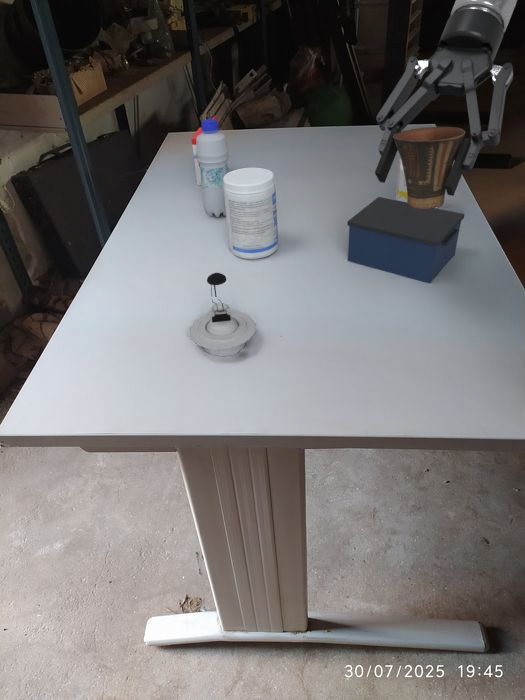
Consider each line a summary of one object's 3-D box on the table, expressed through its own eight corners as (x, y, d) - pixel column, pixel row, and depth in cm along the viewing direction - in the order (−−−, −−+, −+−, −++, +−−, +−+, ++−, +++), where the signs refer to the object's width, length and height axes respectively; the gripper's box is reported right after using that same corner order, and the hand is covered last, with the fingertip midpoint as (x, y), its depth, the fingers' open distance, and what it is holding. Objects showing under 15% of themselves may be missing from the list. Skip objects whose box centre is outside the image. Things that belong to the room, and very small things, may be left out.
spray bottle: (204, 173, 141) (197, 114, 132) (222, 173, 140) (217, 114, 131) (196, 186, 134) (188, 124, 125) (216, 186, 133) (209, 124, 124)
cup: (408, 185, 80) (417, 115, 74) (464, 200, 75) (478, 125, 69) (374, 205, 76) (380, 131, 69) (431, 222, 71) (443, 144, 64)
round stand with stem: (248, 252, 79) (179, 259, 78) (255, 287, 71) (179, 295, 71) (253, 320, 87) (191, 327, 86) (260, 359, 79) (192, 367, 78)
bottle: (220, 204, 124) (210, 113, 112) (239, 212, 120) (232, 118, 108) (197, 214, 121) (185, 120, 108) (217, 222, 117) (206, 126, 104)
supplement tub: (287, 252, 104) (285, 178, 95) (243, 266, 101) (236, 190, 92) (263, 234, 111) (259, 162, 102) (221, 246, 108) (213, 173, 99)
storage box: (459, 254, 100) (466, 214, 95) (433, 285, 92) (440, 243, 87) (373, 234, 109) (376, 196, 104) (343, 260, 101) (345, 220, 96)
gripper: (393, 3, 73) (331, 157, 73) (566, 6, 63) (495, 186, 63) (404, 41, 80) (348, 182, 80) (563, 49, 69) (499, 212, 69)
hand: (413, 184), depth 71 cm, fingers closed on cup, 9 cm apart
